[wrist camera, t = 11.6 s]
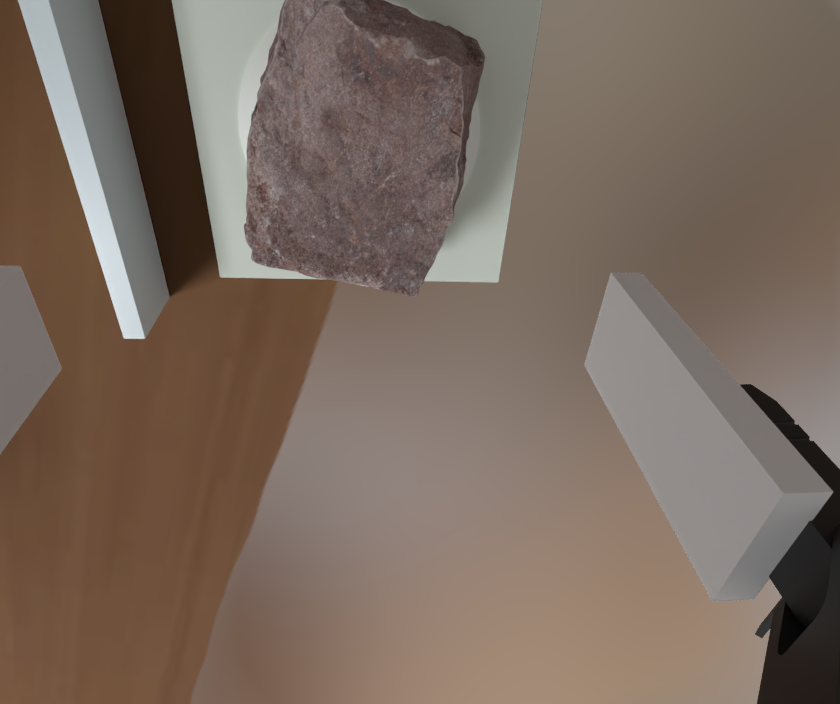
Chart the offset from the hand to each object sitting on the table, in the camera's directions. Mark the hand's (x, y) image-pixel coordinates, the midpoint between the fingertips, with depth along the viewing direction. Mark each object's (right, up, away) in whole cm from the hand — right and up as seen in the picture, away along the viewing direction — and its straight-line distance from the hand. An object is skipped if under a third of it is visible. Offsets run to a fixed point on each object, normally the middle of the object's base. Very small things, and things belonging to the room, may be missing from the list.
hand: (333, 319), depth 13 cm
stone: (-1, +9, +13) cm, 16 cm away
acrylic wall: (-12, +9, +12) cm, 19 cm away
